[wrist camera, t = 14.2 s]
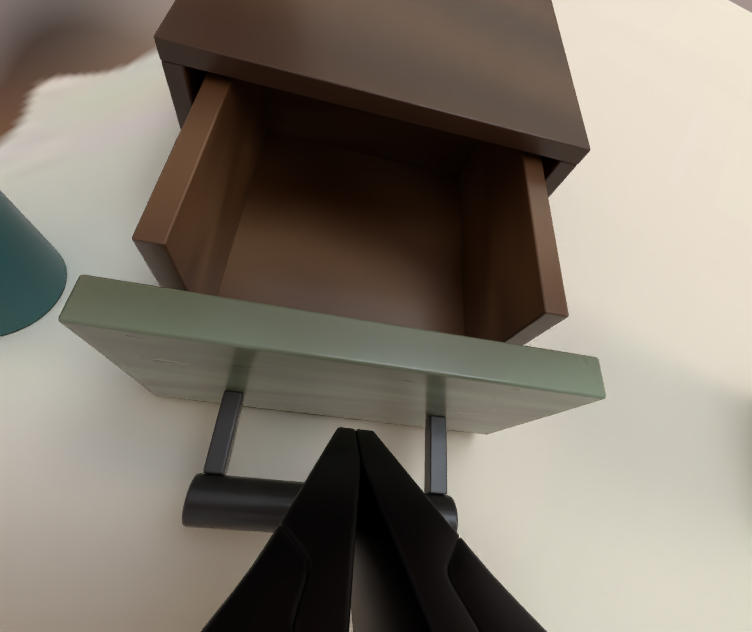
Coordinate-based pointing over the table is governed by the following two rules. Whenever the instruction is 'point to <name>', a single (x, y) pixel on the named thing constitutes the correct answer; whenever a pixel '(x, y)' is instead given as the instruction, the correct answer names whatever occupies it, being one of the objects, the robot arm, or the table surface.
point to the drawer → (337, 285)
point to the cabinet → (394, 64)
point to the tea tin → (26, 270)
